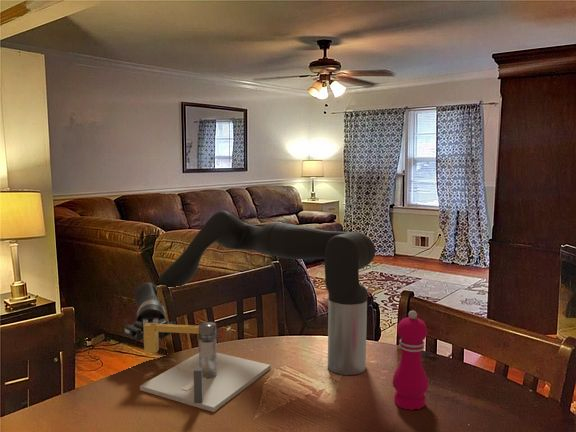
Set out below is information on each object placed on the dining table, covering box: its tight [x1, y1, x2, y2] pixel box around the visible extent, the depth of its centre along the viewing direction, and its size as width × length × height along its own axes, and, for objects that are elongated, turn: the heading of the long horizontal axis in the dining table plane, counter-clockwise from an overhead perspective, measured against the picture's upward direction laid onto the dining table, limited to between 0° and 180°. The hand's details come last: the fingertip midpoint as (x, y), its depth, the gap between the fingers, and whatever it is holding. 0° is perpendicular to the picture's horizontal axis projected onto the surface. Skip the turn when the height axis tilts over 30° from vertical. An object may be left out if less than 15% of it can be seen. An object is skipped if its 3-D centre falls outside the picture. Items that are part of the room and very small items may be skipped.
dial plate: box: [139, 352, 272, 413], centre depth 114 cm, size 23×20×8 cm
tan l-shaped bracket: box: [143, 321, 217, 354], centre depth 114 cm, size 17×4×7 cm, turn 83°
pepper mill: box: [392, 310, 429, 411], centre depth 102 cm, size 7×7×20 cm
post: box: [198, 338, 218, 379], centre depth 114 cm, size 4×4×8 cm
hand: (149, 341), depth 116 cm, fingers closed
